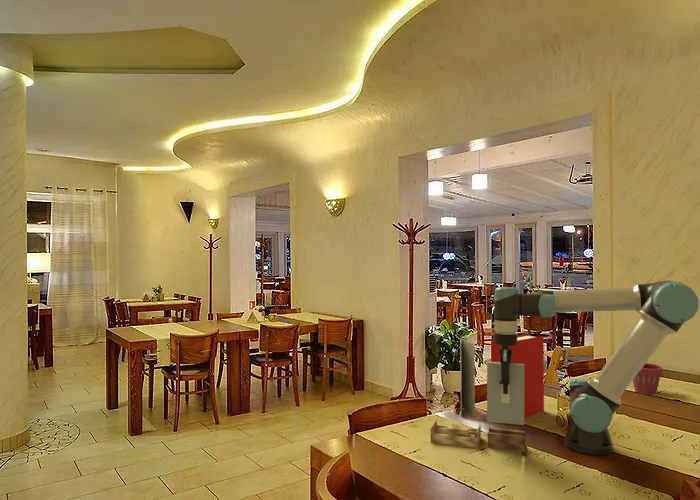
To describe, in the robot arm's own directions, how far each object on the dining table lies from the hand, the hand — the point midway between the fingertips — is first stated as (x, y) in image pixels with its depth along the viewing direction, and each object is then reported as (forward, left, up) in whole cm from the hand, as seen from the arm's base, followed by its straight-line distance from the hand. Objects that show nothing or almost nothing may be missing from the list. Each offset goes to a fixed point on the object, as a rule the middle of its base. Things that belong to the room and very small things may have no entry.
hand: (505, 401), depth 177 cm
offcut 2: (+15, +2, -15) cm, 21 cm away
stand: (0, 0, -16) cm, 16 cm away
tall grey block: (+17, -40, -16) cm, 47 cm away
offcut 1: (+16, +2, -12) cm, 20 cm away
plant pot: (-61, -101, -16) cm, 119 cm away
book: (-3, -42, -17) cm, 45 cm away
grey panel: (0, 0, -7) cm, 7 cm away
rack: (+17, 0, -16) cm, 23 cm away
